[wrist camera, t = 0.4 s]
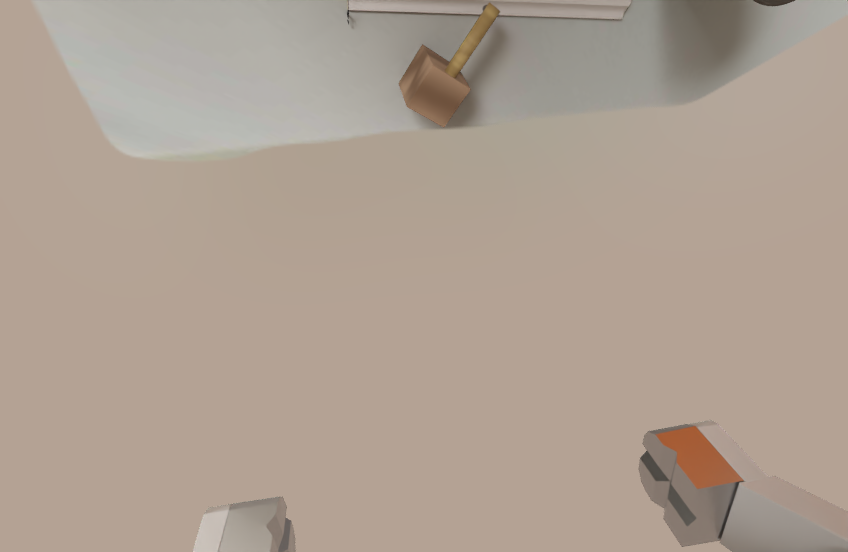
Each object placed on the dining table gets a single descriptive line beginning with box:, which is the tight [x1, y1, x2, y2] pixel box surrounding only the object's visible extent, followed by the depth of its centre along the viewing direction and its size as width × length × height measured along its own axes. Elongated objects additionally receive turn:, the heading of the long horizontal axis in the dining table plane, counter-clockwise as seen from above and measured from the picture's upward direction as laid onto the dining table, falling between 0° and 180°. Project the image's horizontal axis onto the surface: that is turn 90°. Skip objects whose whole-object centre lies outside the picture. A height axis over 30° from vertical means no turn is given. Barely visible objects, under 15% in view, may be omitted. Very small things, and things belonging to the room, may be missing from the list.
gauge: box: [399, 2, 500, 127], centre depth 52 cm, size 12×5×6 cm, turn 146°
